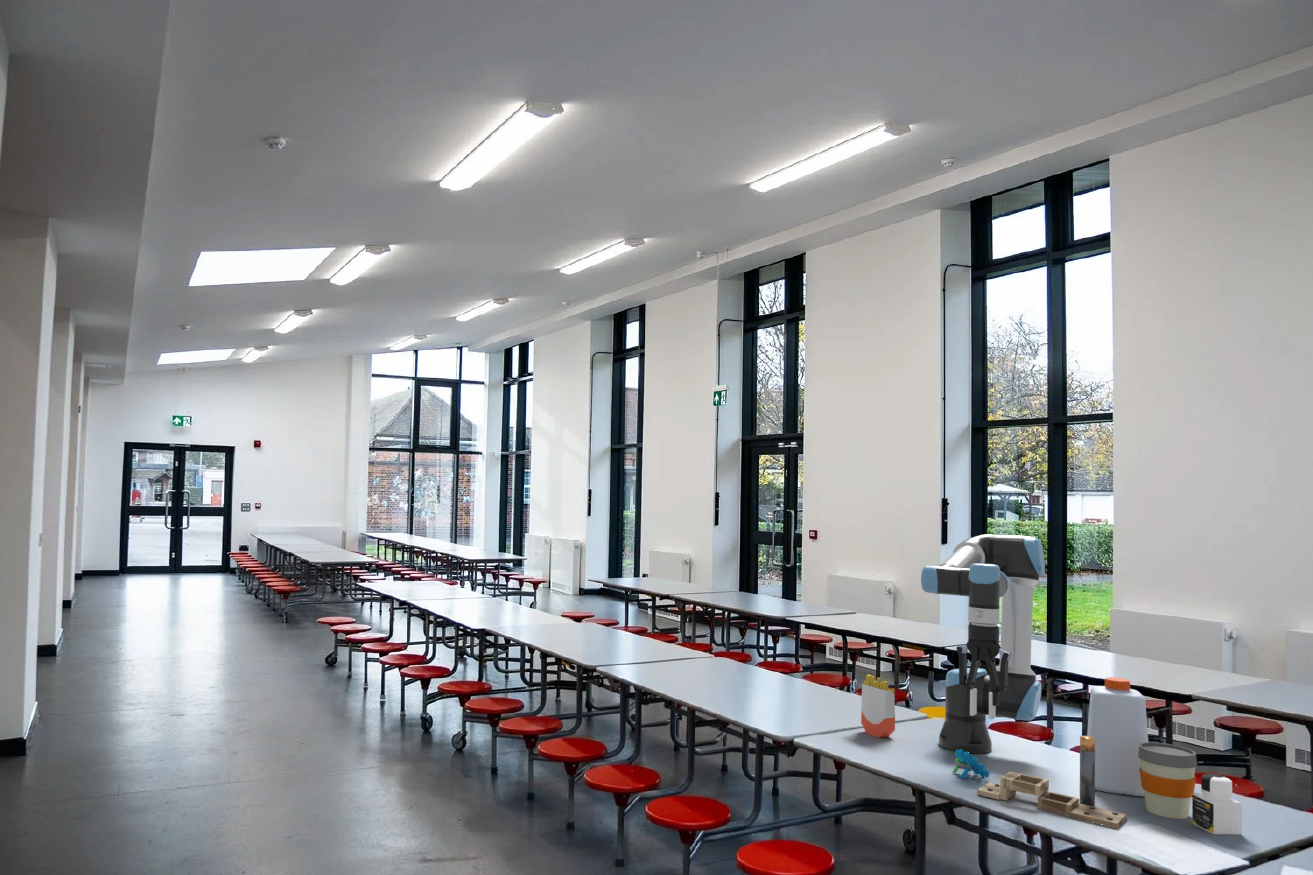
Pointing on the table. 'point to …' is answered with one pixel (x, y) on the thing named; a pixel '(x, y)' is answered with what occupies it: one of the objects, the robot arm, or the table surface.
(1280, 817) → the table surface
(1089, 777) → the pin
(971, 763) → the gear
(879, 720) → the french fries container
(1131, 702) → the plastic bottle
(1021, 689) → the robot arm
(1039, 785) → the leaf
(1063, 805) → the wooden mounting plate
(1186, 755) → the reusable coffee cup
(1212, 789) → the medicine bottle
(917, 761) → the table surface
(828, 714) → the table surface
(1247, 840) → the table surface
